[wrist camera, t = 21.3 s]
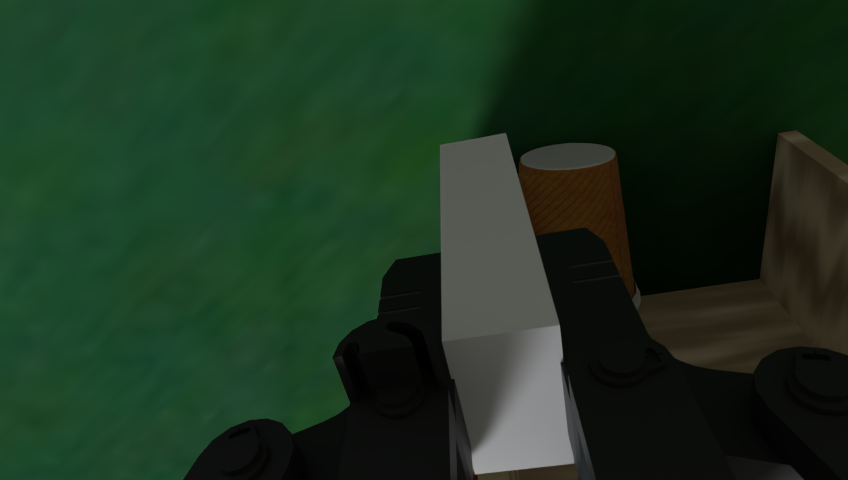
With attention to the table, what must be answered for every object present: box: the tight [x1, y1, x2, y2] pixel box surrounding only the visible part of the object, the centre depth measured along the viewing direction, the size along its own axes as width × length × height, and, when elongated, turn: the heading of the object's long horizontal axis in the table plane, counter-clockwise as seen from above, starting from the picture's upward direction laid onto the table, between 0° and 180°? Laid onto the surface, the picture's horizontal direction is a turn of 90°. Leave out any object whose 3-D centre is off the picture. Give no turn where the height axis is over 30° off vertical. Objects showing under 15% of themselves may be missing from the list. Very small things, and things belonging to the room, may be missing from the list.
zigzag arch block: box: [478, 130, 848, 480], centre depth 30 cm, size 14×24×35 cm, turn 102°
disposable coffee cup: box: [518, 143, 641, 310], centre depth 40 cm, size 10×10×12 cm
